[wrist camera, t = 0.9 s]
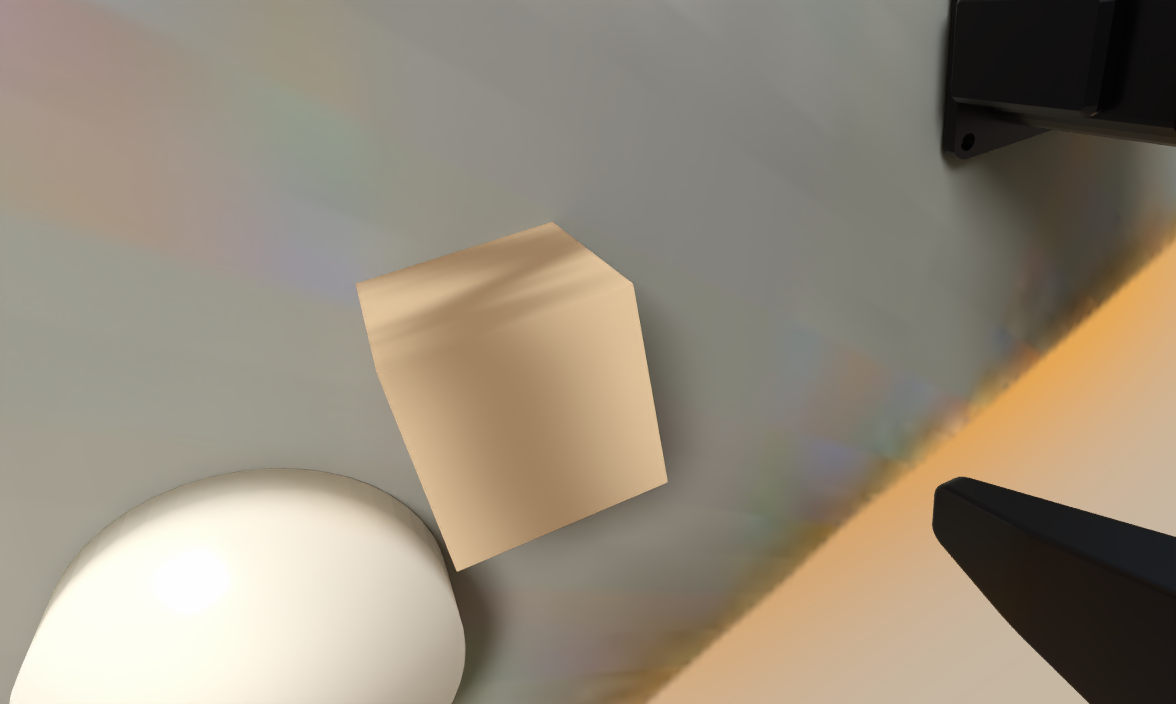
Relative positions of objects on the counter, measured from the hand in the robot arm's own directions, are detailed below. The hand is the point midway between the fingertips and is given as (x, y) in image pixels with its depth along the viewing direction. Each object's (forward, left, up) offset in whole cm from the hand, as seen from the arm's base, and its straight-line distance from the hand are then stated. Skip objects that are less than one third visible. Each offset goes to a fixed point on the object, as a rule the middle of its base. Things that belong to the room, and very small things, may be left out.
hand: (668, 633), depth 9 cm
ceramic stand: (+8, +6, -10) cm, 14 cm away
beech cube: (0, 0, -11) cm, 11 cm away
